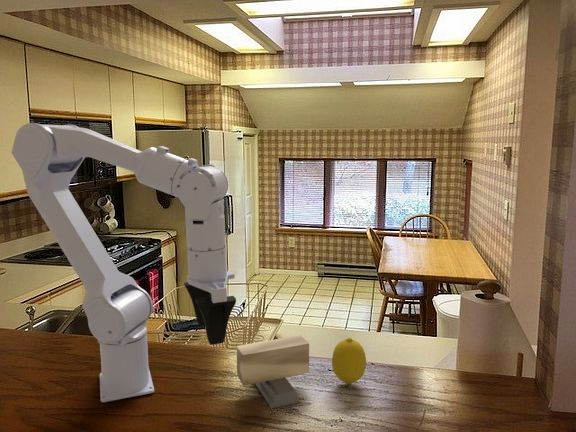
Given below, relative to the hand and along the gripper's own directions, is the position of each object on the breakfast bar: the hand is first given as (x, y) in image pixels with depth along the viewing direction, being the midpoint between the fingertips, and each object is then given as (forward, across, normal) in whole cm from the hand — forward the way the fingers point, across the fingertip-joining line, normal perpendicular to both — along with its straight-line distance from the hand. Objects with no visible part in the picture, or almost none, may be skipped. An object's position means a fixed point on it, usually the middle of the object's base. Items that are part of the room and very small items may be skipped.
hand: (210, 333), depth 74 cm
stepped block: (+11, -2, -10) cm, 14 cm away
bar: (+8, -2, -9) cm, 12 cm away
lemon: (+11, -5, -22) cm, 25 cm away
